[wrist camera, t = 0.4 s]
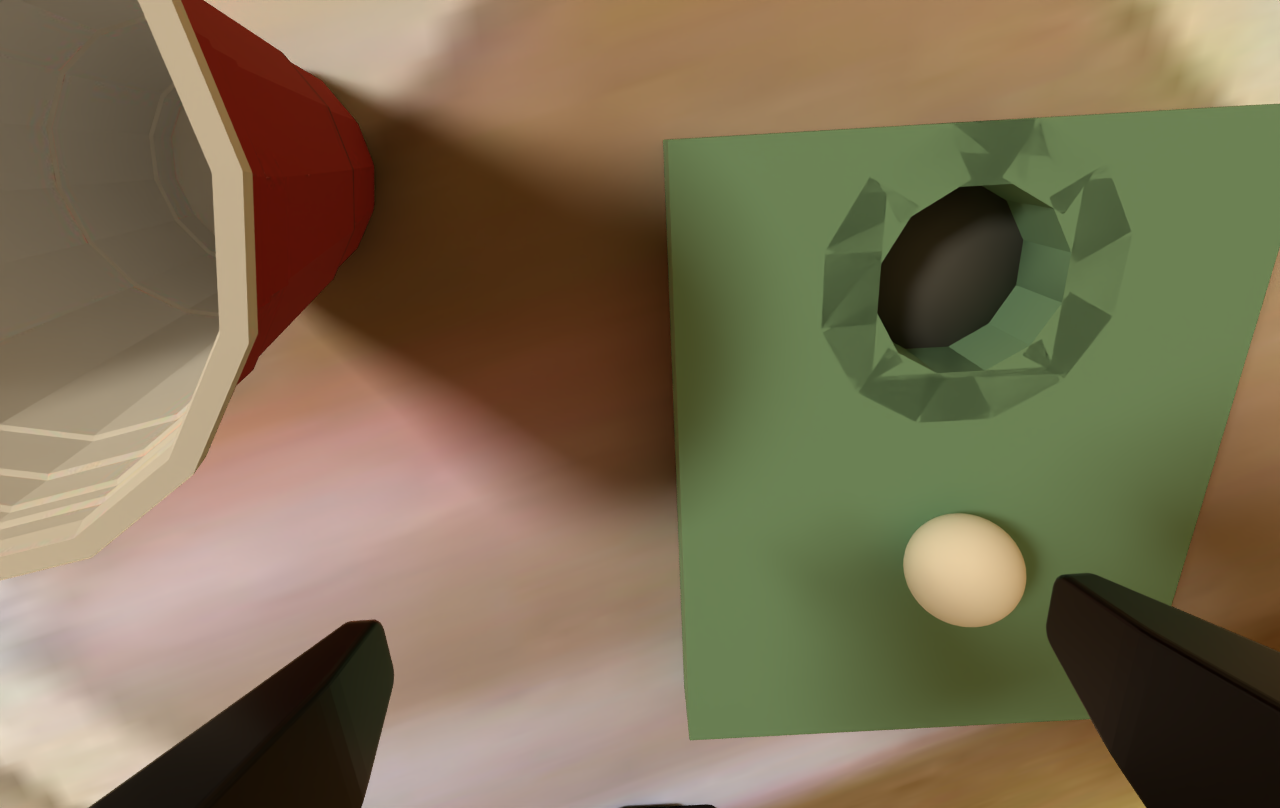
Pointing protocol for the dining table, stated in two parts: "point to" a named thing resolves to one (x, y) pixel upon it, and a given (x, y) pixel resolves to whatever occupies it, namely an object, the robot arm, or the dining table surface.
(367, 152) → the plastic cup
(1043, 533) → the putting mat
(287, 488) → the dining table surface
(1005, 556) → the ball
